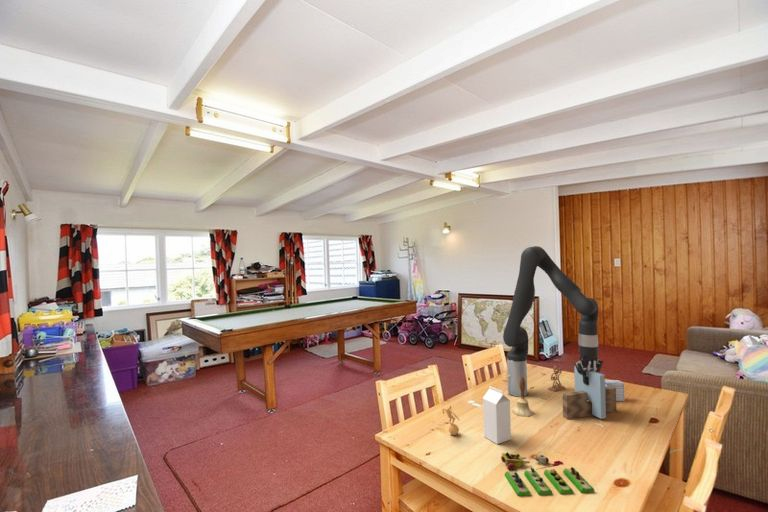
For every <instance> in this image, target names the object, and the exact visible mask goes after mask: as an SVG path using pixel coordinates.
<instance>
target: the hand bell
mask: <svg viewBox="0 0 768 512" xmlns="http://www.w3.org/2000/svg"><path fill="white" fill-rule="evenodd" d="M519 387H520V390H521V397H520V398H518V399H517V401H516V405H515V407H514V408H513V409H512V412H513V414H515V415H516V416H520V417H531V416H533V415H534V413H533V411H532V410H531V408H530V406H529V401H528V399H526V397H525V396H524V390H525V380H524V377H522V376H521V377H520V381H519Z"/></svg>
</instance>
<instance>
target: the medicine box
mask: <svg viewBox="0 0 768 512" xmlns="http://www.w3.org/2000/svg"><path fill="white" fill-rule="evenodd" d="M610 386H611V387H614V388H616V402H625V383H624V382H622V381H621V380H618V379H605V387H610Z"/></svg>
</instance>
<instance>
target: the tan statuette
mask: <svg viewBox="0 0 768 512" xmlns="http://www.w3.org/2000/svg"><path fill="white" fill-rule="evenodd" d="M561 374H562V368H561V367H559V366H558V365H554V367H553V373H551V375H550V376H551V377H550V380H551V381H553V383H552V385H551V386H550V387H547V390H548V391H550V392H553V393H556V392H559V391H563V390H565V389H566V386H564V385H562V383H561V382H560V377H559V376H560V375H561Z"/></svg>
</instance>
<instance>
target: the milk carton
mask: <svg viewBox="0 0 768 512" xmlns="http://www.w3.org/2000/svg"><path fill="white" fill-rule="evenodd" d="M482 407H483V408H482V412H483V413H482V414H483V416H482V417H483V418H482V419H483V437H484V438H485V439H488V440H489V441H491V442H493V444H496V445H498V444H502V443H505V442H507V441H510V440H511V439H512V431H511V428H512V427H511V426H512V425H511V399H509V398H508V397H507V396H506V395H505V394H504V391H503V390H501V389H498V388H496V387H493V386H491V385H489V386H488V390H487V391H486V393H485V394H484V396H483V397H482Z"/></svg>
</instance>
